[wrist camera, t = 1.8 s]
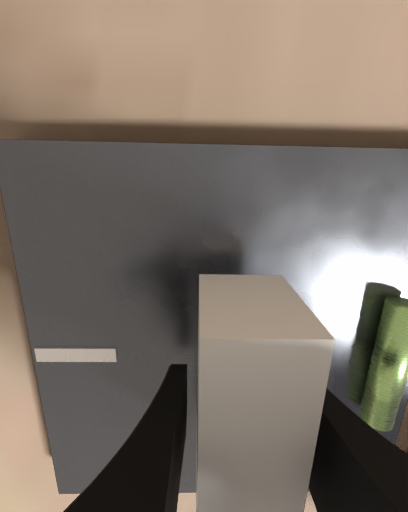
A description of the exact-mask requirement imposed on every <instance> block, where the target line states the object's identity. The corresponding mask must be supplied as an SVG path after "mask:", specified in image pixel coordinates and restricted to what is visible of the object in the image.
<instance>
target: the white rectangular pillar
mask: <svg viewBox="0 0 408 512" xmlns="http://www.w3.org/2000/svg"><path fill="white" fill-rule="evenodd" d="M334 344H335V339H334V337H333V336H332V335H331V334H330V333H329V331H328V330H327V329H326V328H325V326H324V325H323V324H322V323H321V322H320V320H319V319H318V318H317V317H316V316H315V314H314V313H313V312H312V311H311V310H310V308H309V307H308V306H307V305H306V304H305V302H304V301H303V300H302V299H301V297H300V296H299V295H298V294H297V293H296V291H295V290H294V289H293V288H292V287H291V285H290V284H289V283H288V282H287V281H286V279H285V278H284V277H283V276H282V275H224V274H199V319H198V385H197V451H196V512H304V508H305V502H306V497H307V492H308V486H309V481H310V475H311V470H312V464H313V459H314V453H315V448H316V442H317V437H318V431H319V426H320V420H321V415H322V410H323V404H324V399H325V393H326V388H327V382H328V377H329V371H330V366H331V360H332V355H333V349H334Z"/></svg>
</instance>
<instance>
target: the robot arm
mask: <svg viewBox="0 0 408 512" xmlns="http://www.w3.org/2000/svg"><path fill="white" fill-rule="evenodd" d="M186 426H187V364H171V365H170V366H169V368H168V371H167V373H166V375H165V378H164V380H163V382H162V384H161V386H160V388H159V390H158V392H157V393H156V395H155V397H154V399H153V400H152V402H151V404H150V406H149V407H148V409H147V410H146V412H145V413H144V415H143V417H142V418H141V420H140V421H139V423H138V424H137V426H136V427H135V429H134V430H133V431H132V433H131V434H130V436H129V437H128V438H127V440H126V441H125V442H124V444H123V445H122V446H121V448H120V449H119V450H118V452H117V453H116V454H115V455H114V457H113V458H112V459H111V460H110V461H109V462H108V464H107V465H106V466H105V467H104V468H103V470H102V471H101V472H100V473H99V474H98V475H97V477H96V478H95V479H94V480H93V481H92V482H91V483H90V484H89V486H88V487H87V488H86V489H85V490H84V491H83V492H82V493H81V494H80V495H79V496H78V497H77V498H76V499H75V500H74V501H73V502H72V503H71V504H70V505H69V506H68V507H67V508H66V509H65V510H64V512H177V502H178V494H179V486H180V479H181V471H182V463H183V455H184V447H185V439H186ZM308 488H309V490H310V493H311V495H312V498H313V501H314V503H315V506H316V509H317V512H408V454H406V453H405V452H404V451H402V450H401V449H399V448H398V447H397V446H395V445H394V444H393V443H391V442H390V441H389V440H387V439H386V438H385V437H383V436H382V435H381V434H379V433H378V432H377V431H376V430H374V429H373V428H372V427H371V426H369V425H368V424H367V423H366V422H365V421H363V420H362V419H361V418H360V417H359V416H357V415H356V414H355V413H354V412H353V411H352V410H350V409H349V408H348V407H347V406H346V405H345V404H344V403H342V402H341V401H340V400H339V399H338V398H337V397H336V396H335V395H334V394H333V393H332V392H330V391H329V390H328V389H327V388H326V393H325V399H324V404H323V410H322V415H321V420H320V426H319V431H318V437H317V442H316V448H315V453H314V459H313V464H312V470H311V475H310V481H309V486H308Z"/></svg>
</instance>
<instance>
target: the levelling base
mask: <svg viewBox="0 0 408 512" xmlns="http://www.w3.org/2000/svg"><path fill="white" fill-rule="evenodd" d="M0 188H1V193H2V199H3V204H4V209H5V214H6V219H7V225H8V230H9V235H10V240H11V246H12V251H13V256H14V261H15V267H16V272H17V277H18V282H19V287H20V293H21V298H22V303H23V308H24V314H25V319H26V324H27V329H28V335H29V340H30V345H31V350H32V355H33V361H34V366H35V371H36V376H37V382H38V387H39V392H40V397H41V403H42V408H43V413H44V418H45V423H46V429H47V434H48V439H49V444H50V450H51V455H52V460H53V465H54V470H55V476H56V481H57V486H58V491H59V494H81V493H82V492H83V491H84V490H85V489H86V488H87V487H88V486H89V484H90V483H91V482H92V481H93V480H94V479H95V478H96V477H97V475H98V474H99V473H100V472H101V471H102V470H103V468H104V467H105V466H106V465H107V464H108V462H109V461H110V460H111V459H112V458H113V457H114V455H115V454H116V453H117V452H118V450H119V449H120V448H121V446H122V445H123V444H124V442H125V441H126V440H127V438H128V437H129V436H130V434H131V433H132V431H133V430H134V429H135V427H136V426H137V424H138V423H139V421H140V420H141V418H142V417H143V415H144V413H145V412H146V410H147V409H148V407H149V406H150V404H151V402H152V400H153V399H154V397H155V395H156V393H157V392H158V390H159V388H160V386H161V384H162V382H163V380H164V378H165V375H166V373H167V371H168V368H169V366H170V365H171V364H187V426H186V439H185V447H184V455H183V463H182V471H181V479H180V486H179V493H193V492H196V451H197V385H198V319H199V274H224V275H282V276H283V277H284V278H285V279H286V281H287V282H288V283H289V284H290V285H291V287H292V288H293V289H294V290H295V291H296V293H297V294H298V295H299V296H300V297H301V299H302V300H303V301H304V302H305V304H306V305H307V306H308V307H309V308H310V310H311V311H312V312H313V313H314V314H315V316H316V317H317V318H318V319H319V320H320V322H321V323H322V324H323V325H324V326H325V328H326V329H327V330H328V331H329V333H330V334H331V335H332V336H333V337H334V339H335V344H334V349H333V355H332V360H331V366H330V371H329V377H328V382H327V389H328V390H329V391H330V392H332V393H333V394H334V395H335V396H336V397H337V398H338V399H339V400H340V401H341V402H342V403H344V404H345V405H346V406H347V407H348V408H349V409H350V410H352V411H353V412H354V413H355V414H356V415H357V416H359V417H360V418H361V419H362V420H363V421H365V422H366V423H367V424H368V425H369V426H371V427H372V428H373V429H374V430H376V431H377V432H378V433H379V434H381V435H382V436H383V437H385V438H386V439H387V440H389V441H390V442H391V443H393V444H394V445H395V443H396V439H397V436H398V432H399V429H400V426H401V422H402V419H403V415H404V412H405V409H406V405H407V402H408V149H399V148H356V147H313V146H269V145H226V144H182V143H139V142H95V141H52V140H9V139H0ZM308 491H310V490H309V488H308Z"/></svg>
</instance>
